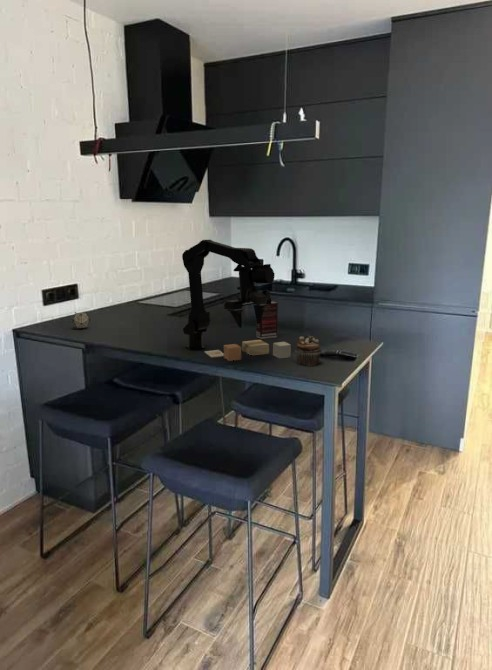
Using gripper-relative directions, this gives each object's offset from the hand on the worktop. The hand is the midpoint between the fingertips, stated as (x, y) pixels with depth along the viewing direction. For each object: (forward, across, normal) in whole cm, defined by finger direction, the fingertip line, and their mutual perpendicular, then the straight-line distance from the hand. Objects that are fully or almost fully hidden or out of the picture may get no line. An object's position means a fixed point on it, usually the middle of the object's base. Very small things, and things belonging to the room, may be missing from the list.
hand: (249, 325), depth 176 cm
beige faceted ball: (+5, -28, +88) cm, 93 cm away
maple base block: (+13, +8, +7) cm, 17 cm away
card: (+12, -6, +15) cm, 20 cm away
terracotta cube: (+13, -5, +6) cm, 15 cm away
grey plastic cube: (+14, +12, -4) cm, 19 cm away
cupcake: (+15, +14, -16) cm, 26 cm away
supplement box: (+12, +29, +22) cm, 38 cm away
